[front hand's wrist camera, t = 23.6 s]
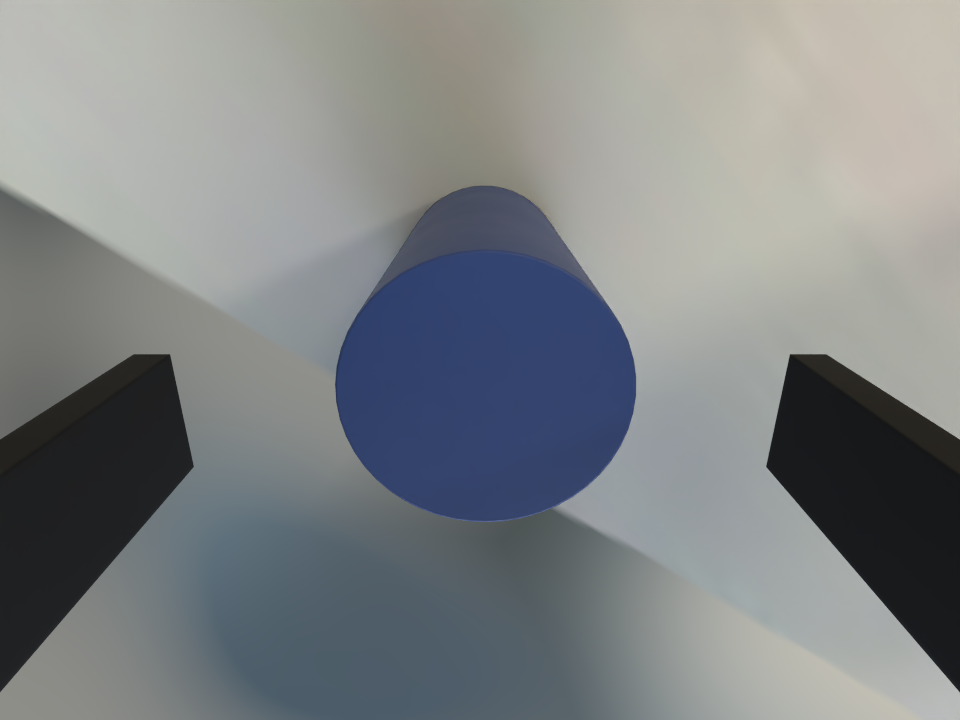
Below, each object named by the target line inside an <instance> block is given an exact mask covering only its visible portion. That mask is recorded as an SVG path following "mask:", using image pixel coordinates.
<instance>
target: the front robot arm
mask: <svg viewBox="0 0 960 720" xmlns="http://www.w3.org/2000/svg"><path fill="white" fill-rule="evenodd" d="M193 467H194V466H193V461H192V456H191V452H190V447H189V442H188V437H187V433H186V428H185V423H184V419H183V414H182V409H181V405H180V400H179V395H178V390H177V386H176V381H175V376H174V371H173V367H172V362H171V357H170V355H169V354H134V355H132V356H131V357H129V358H127V359H126V360H124V361H123V362H121V363H120V364H118V365H116V366H115V367H113V368H112V369H110V370H109V371H107V372H105V373H104V374H102V375H101V376H99V377H98V378H96V379H95V380H93V381H91V382H90V383H88V384H87V385H85V386H84V387H82V388H80V389H79V390H77V391H76V392H74V393H73V394H71V395H69V396H68V397H66V398H65V399H63V400H62V401H60V402H59V403H57V404H55V405H54V406H52V407H51V408H49V409H47V410H46V411H44V412H43V413H41V414H40V415H38V416H37V417H35V418H33V419H32V420H30V421H29V422H27V423H26V424H24V425H23V426H21V427H19V428H18V429H16V430H15V431H13V432H11V433H10V434H8V435H7V436H5V437H4V438H2V439H0V692H1V690H2V689H3V688H4V687H5V686H6V685H7V684H8V682H9V681H10V680H11V679H12V678H13V676H14V675H15V674H16V673H17V672H18V671H19V670H20V668H21V667H22V666H23V665H24V664H25V663H26V661H27V660H28V659H29V658H30V657H31V656H32V654H33V653H34V652H35V651H36V650H37V649H38V647H39V646H40V645H41V644H42V643H43V642H44V640H45V639H46V638H47V637H48V636H49V635H50V633H51V632H52V631H53V630H54V629H55V628H56V627H57V625H58V624H59V623H60V622H61V621H62V620H63V618H64V617H65V616H66V615H67V614H68V613H69V611H70V610H71V609H72V608H73V607H74V606H75V604H76V603H77V602H78V601H79V600H80V599H81V597H82V596H83V595H84V594H85V593H86V592H87V590H88V589H89V588H90V587H91V586H92V585H93V583H94V582H95V581H96V580H97V579H98V578H99V576H100V575H101V574H102V573H103V572H104V571H105V569H106V568H107V567H108V566H109V565H110V564H111V562H112V561H113V560H114V559H115V558H116V557H117V555H118V554H119V553H120V552H121V551H122V550H123V549H124V547H125V546H126V545H127V544H128V543H129V542H130V540H131V539H132V538H133V537H134V536H135V535H136V533H137V532H138V531H139V530H140V529H141V527H142V526H143V525H144V524H145V523H146V522H147V521H148V519H149V518H150V517H151V516H152V515H153V514H154V512H155V511H156V510H157V509H158V508H159V507H160V505H161V504H162V503H163V502H164V501H165V500H166V498H167V497H168V496H169V495H170V494H171V493H172V491H173V490H174V489H175V488H176V487H177V486H178V484H179V483H180V482H181V481H182V480H183V479H184V478H185V476H186V475H187V474H188V473H189V472H190V470H191V469H192V468H193ZM766 467H767V468H768V469H769V471H770V472H771V473H772V474H773V475H774V476H775V478H776V479H777V480H778V481H779V482H780V483H781V485H782V486H783V487H784V488H785V489H786V490H787V491H788V493H789V494H790V495H791V496H792V497H793V498H794V500H795V501H796V502H797V503H798V504H799V505H800V507H801V508H802V509H803V510H804V511H805V512H806V514H807V515H808V516H809V517H810V518H811V519H812V521H813V522H814V523H815V524H816V525H817V526H818V528H819V529H820V530H821V531H822V532H823V533H824V535H825V536H826V537H827V538H828V539H829V540H830V542H831V543H832V544H833V545H834V546H835V547H836V549H837V550H838V551H839V552H840V553H841V554H842V556H843V557H844V558H845V559H846V560H847V561H848V562H849V564H850V565H851V566H852V567H853V568H854V569H855V571H856V572H857V573H858V574H859V575H860V576H861V578H862V579H863V580H864V581H865V582H866V583H867V585H868V586H869V587H870V588H871V589H872V590H873V592H874V593H875V594H876V595H877V596H878V597H879V599H880V600H881V601H882V602H883V603H884V604H885V606H886V607H887V608H888V609H889V610H890V611H891V613H892V614H893V615H894V616H895V617H896V618H897V620H898V621H899V622H900V623H901V624H902V625H903V627H904V628H905V629H906V630H907V631H908V632H909V633H910V635H911V636H912V637H913V638H914V639H915V640H916V642H917V643H918V644H919V645H920V646H921V647H922V649H923V650H924V651H925V652H926V653H927V654H928V656H929V657H930V658H931V659H932V660H933V661H934V663H935V664H936V665H937V666H938V667H939V668H940V670H941V671H942V672H943V673H944V674H945V675H946V677H947V678H948V679H949V680H950V681H951V682H952V684H953V685H954V686H955V687H956V688H957V689H958V691H959V692H960V439H958V438H956V437H955V436H953V435H952V434H950V433H949V432H947V431H945V430H944V429H942V428H941V427H939V426H938V425H936V424H934V423H933V422H931V421H930V420H928V419H927V418H925V417H923V416H922V415H920V414H919V413H917V412H916V411H914V410H913V409H911V408H909V407H908V406H906V405H905V404H903V403H902V402H900V401H898V400H897V399H895V398H894V397H892V396H891V395H889V394H887V393H886V392H884V391H883V390H881V389H880V388H878V387H876V386H875V385H873V384H872V383H870V382H869V381H867V380H865V379H864V378H862V377H861V376H859V375H858V374H856V373H855V372H853V371H851V370H850V369H848V368H847V367H845V366H844V365H842V364H840V363H839V362H837V361H836V360H834V359H833V358H831V357H829V356H828V355H826V354H790V357H789V362H788V367H787V371H786V376H785V381H784V385H783V390H782V395H781V400H780V404H779V409H778V414H777V419H776V423H775V428H774V433H773V437H772V442H771V447H770V452H769V456H768V461H767V466H766Z"/></svg>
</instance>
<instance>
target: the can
mask: <svg viewBox="0 0 960 720" xmlns="http://www.w3.org/2000/svg"><path fill="white" fill-rule="evenodd" d="M335 387H336V402H337V407H338V412H339V417H340V420H341V423H342V426H343V429H344V432H345V435H346V437H347V439H348V441H349V443H350V445H351V447H352V448H353V450H354V452H355V454H356V455H357V457H358V458H359V459H360V461H361V462H362V464H363V465H364V466H365V468H366V469H367V470H368V471H369V472H370V473H371V474H372V475H373V476H374V477H375V478H376V479H377V480H378V481H379V482H380V483H381V484H382V485H384V486H385V487H386V488H387V489H388V490H389V491H391V492H392V493H394V494H396V495H397V496H398V497H400V498H401V499H403V500H405V501H407V502H408V503H410V504H412V505H414V506H416V507H418V508H420V509H423V510H426V511H428V512H431V513H434V514H437V515H440V516H444V517H448V518H452V519H458V520H465V521H475V522H495V521H507V520H513V519H518V518H524V517H527V516H531V515H534V514H537V513H541V512H543V511H545V510H548V509H550V508H553V507H555V506H557V505H559V504H561V503H563V502H564V501H566V500H568V499H570V498H571V497H573V496H574V495H576V494H577V493H579V492H580V491H581V490H583V489H584V488H585V487H587V486H588V485H589V484H590V483H591V482H592V481H593V480H594V479H595V478H596V477H598V476H599V475H600V474H601V472H602V471H603V470H604V469H605V468H606V466H607V465H608V464H609V463H610V462H611V460H612V459H613V457H614V455H615V454H616V452H617V451H618V449H619V448H620V446H621V444H622V442H623V439H624V437H625V435H626V433H627V431H628V428H629V425H630V421H631V418H632V415H633V410H634V404H635V397H636V373H635V366H634V359H633V356H632V352H631V349H630V345H629V342H628V340H627V337H626V335H625V333H624V331H623V329H622V327H621V324H620V323H619V321H618V320H617V318H616V317H615V315H614V314H613V312H612V311H611V309H610V307H609V306H608V305H607V303H606V302H605V300H604V299H603V297H602V296H601V295H600V293H599V292H598V290H597V289H596V287H595V286H594V285H593V283H592V282H591V280H590V279H589V277H588V276H587V275H586V273H585V272H584V270H583V269H582V267H581V266H580V265H579V263H578V262H577V260H576V259H575V257H574V256H573V255H572V253H571V252H570V250H569V249H568V247H567V246H566V245H565V243H564V242H563V240H562V239H561V237H560V236H559V235H558V233H557V232H556V230H555V229H554V227H553V226H552V225H551V223H550V222H549V220H548V219H547V217H546V216H545V215H544V214H543V213H542V211H541V210H540V209H539V208H538V207H537V206H536V205H534V204H533V203H532V202H531V201H529V200H528V199H526V198H525V197H523V196H522V195H520V194H517V193H515V192H513V191H510V190H507V189H504V188H499V187H494V186H476V187H469V188H465V189H461V190H458V191H456V192H453V193H451V194H449V195H447V196H445V197H443V198H442V199H440V200H439V201H438V202H436V203H435V204H434V205H433V206H432V207H431V208H430V209H429V210H428V211H427V212H426V213H425V214H424V215H423V217H422V218H421V219H420V221H419V222H418V224H417V225H416V227H415V228H414V230H413V231H412V233H411V234H410V236H409V237H408V239H407V240H406V242H405V243H404V245H403V246H402V248H401V249H400V251H399V252H398V254H397V255H396V257H395V258H394V260H393V261H392V263H391V264H390V266H389V267H388V269H387V271H386V272H385V274H384V275H383V277H382V278H381V280H380V281H379V283H378V284H377V286H376V287H375V289H374V290H373V292H372V293H371V295H370V296H369V298H368V299H367V301H366V302H365V304H364V305H363V307H362V308H361V310H360V311H359V313H358V314H357V316H356V318H355V320H354V321H353V323H352V325H351V327H350V328H349V330H348V332H347V335H346V337H345V340H344V342H343V345H342V347H341V351H340V355H339V359H338V363H337V370H336V382H335Z"/></svg>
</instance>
